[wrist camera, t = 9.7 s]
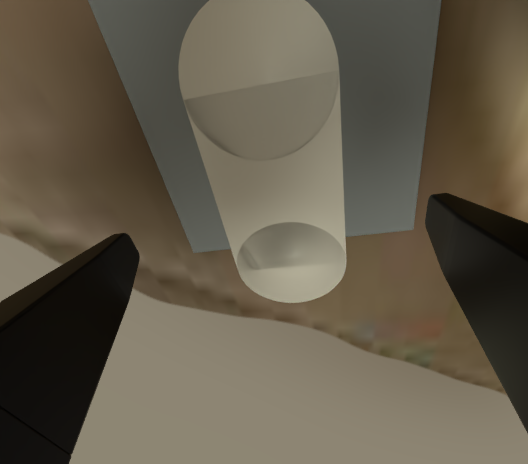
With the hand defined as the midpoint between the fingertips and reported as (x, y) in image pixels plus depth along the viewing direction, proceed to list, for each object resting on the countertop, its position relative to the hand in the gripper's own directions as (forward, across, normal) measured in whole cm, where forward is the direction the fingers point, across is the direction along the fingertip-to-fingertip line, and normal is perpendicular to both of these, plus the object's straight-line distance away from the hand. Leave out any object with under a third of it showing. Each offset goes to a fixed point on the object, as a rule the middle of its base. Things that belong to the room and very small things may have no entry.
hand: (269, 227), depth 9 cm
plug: (+8, 0, +1) cm, 8 cm away
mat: (+9, 0, 0) cm, 9 cm away
